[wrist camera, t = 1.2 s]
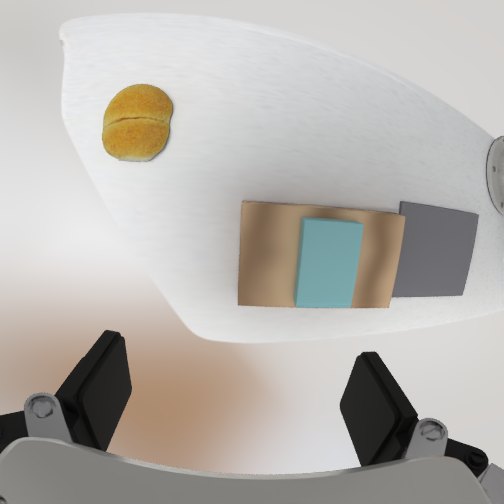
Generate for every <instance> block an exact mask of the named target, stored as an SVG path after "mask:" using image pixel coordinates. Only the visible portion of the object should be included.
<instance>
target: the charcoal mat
mask: <svg viewBox="0 0 504 504" xmlns="http://www.w3.org/2000/svg"><path fill="white" fill-rule="evenodd" d="M399 215H402V216H405V224H404V232H403V238H402V245H401V251H400V256H399V262H398V267H397V272H396V277H395V282H394V287H393V291H392V296H391V297H431V296H461V295H463V291H464V287H465V283H466V279H467V275H468V271H469V267H470V262H471V258H472V253H473V248H474V242H475V237H476V231H477V224H478V217H479V215H477V214H473V213H467V212H462V211H457V210H451V209H446V208H440V207H434V206H428V205H421V204H415V203H408V202H401V201H400V209H399Z"/></svg>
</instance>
